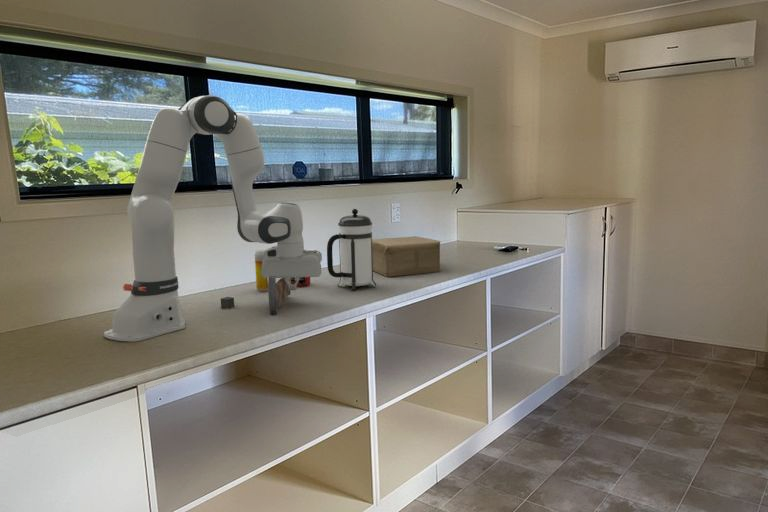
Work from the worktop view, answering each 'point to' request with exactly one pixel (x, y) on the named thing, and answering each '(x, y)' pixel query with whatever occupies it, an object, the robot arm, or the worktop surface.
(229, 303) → the dark grey cube
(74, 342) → the worktop surface
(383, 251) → the paper package
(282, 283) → the gate
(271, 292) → the gate post
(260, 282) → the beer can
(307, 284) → the canned food
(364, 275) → the coffee press
